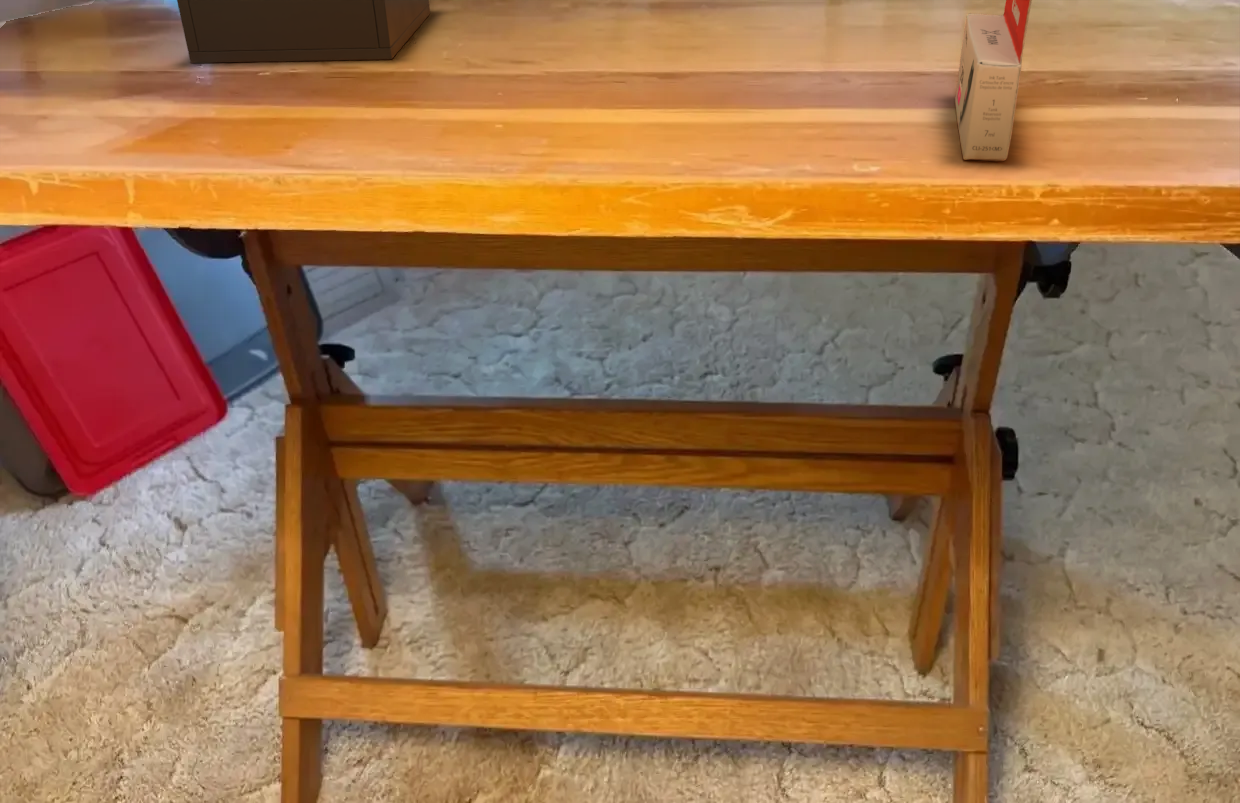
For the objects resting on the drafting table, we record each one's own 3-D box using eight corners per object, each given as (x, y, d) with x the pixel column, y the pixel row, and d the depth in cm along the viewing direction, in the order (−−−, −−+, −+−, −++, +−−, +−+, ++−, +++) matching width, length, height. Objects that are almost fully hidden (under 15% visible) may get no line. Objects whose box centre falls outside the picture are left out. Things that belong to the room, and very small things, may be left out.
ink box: (962, 162, 59) (987, -36, 55) (953, 100, 69) (974, -73, 64) (1011, 164, 59) (1040, -35, 54) (996, 101, 68) (1020, -73, 63)
